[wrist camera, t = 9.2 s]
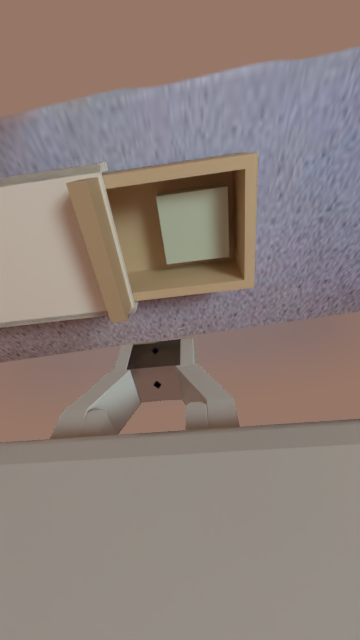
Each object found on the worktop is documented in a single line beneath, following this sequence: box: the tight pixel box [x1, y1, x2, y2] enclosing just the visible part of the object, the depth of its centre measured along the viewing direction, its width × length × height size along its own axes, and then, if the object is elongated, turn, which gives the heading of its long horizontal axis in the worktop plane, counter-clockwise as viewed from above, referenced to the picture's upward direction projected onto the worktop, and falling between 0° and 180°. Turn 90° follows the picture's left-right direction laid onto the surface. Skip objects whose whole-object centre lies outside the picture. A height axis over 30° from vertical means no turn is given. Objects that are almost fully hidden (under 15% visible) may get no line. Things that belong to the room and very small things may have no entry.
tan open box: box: [102, 153, 258, 301], centre depth 28 cm, size 18×12×7 cm, turn 97°
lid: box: [0, 162, 139, 328], centre depth 25 cm, size 18×14×6 cm
